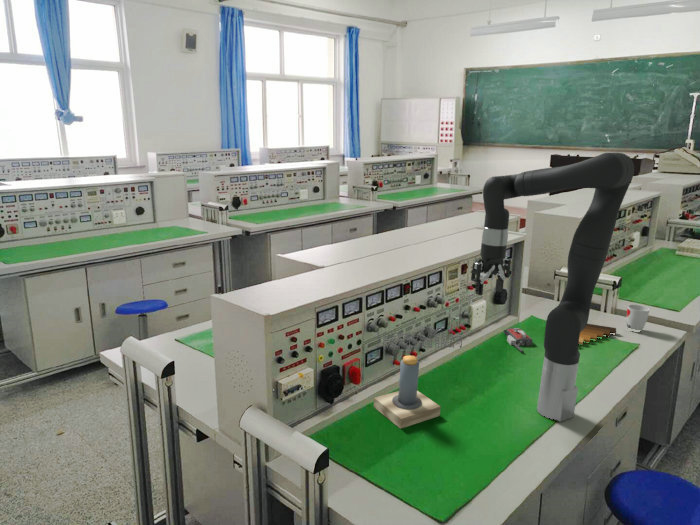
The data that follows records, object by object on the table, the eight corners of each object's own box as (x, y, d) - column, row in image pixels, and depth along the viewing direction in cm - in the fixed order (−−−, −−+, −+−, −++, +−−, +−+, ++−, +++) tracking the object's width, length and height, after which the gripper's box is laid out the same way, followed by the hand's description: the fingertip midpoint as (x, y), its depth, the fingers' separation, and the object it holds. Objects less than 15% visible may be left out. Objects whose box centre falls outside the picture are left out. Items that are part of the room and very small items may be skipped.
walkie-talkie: (498, 334, 218) (519, 355, 199) (499, 323, 217) (520, 343, 198) (518, 333, 219) (541, 354, 200) (520, 323, 218) (543, 343, 199)
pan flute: (614, 334, 223) (550, 324, 232) (615, 326, 222) (551, 316, 231) (619, 357, 200) (547, 345, 209) (620, 348, 200) (548, 336, 208)
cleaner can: (419, 402, 155) (423, 360, 152) (405, 407, 152) (408, 363, 149) (408, 394, 159) (411, 353, 156) (394, 398, 156) (397, 356, 153)
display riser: (439, 415, 155) (440, 405, 154) (400, 428, 147) (401, 417, 147) (411, 395, 165) (412, 386, 164) (373, 407, 158) (374, 396, 157)
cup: (625, 325, 232) (629, 303, 229) (646, 330, 227) (651, 307, 225) (622, 330, 226) (626, 308, 223) (643, 335, 221) (648, 312, 219)
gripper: (486, 246, 158) (481, 299, 162) (520, 242, 165) (514, 293, 170) (468, 241, 164) (463, 292, 168) (501, 237, 172) (496, 286, 176)
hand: (488, 292), depth 169 cm, fingers open, 8 cm apart
